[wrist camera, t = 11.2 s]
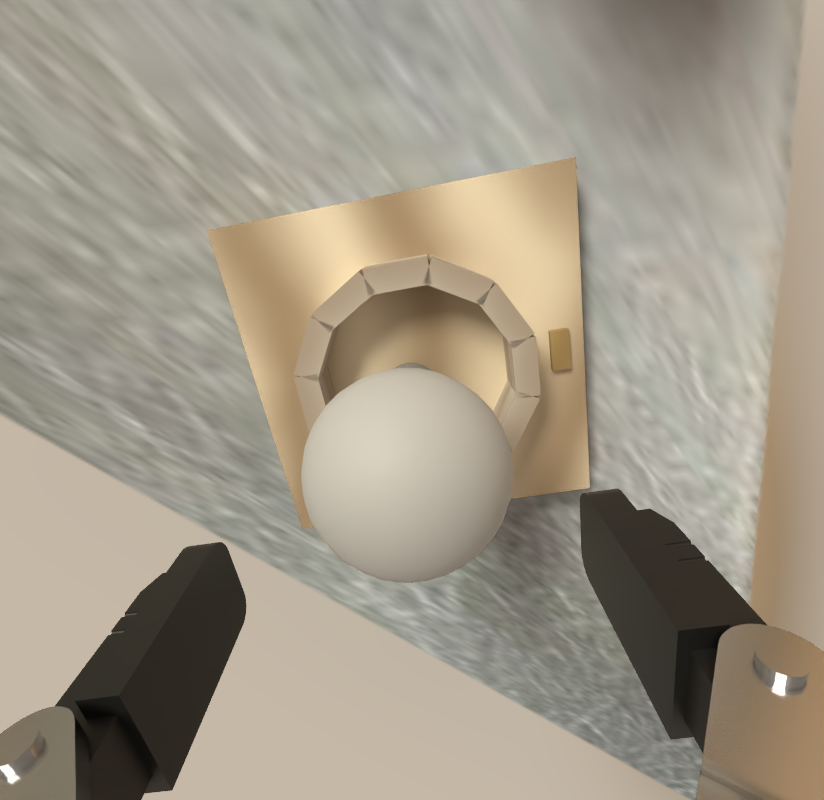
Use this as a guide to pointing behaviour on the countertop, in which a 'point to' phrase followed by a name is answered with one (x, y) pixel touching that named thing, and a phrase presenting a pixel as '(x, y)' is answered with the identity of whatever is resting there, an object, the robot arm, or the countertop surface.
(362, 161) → the countertop surface
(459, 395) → the lightbulb
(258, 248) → the lamp holder
